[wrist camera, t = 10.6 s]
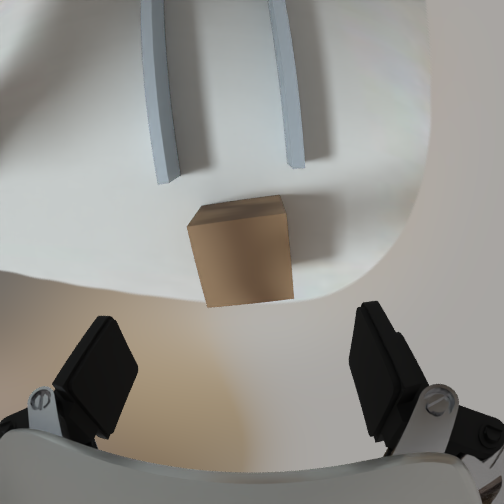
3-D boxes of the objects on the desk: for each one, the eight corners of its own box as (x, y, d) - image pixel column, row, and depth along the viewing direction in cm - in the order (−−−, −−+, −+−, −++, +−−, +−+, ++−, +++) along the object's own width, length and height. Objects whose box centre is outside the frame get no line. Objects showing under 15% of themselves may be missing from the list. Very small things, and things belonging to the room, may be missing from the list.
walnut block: (216, 273, 23) (207, 307, 19) (201, 205, 21) (186, 226, 16) (286, 264, 23) (293, 298, 18) (279, 194, 20) (286, 213, 16)
